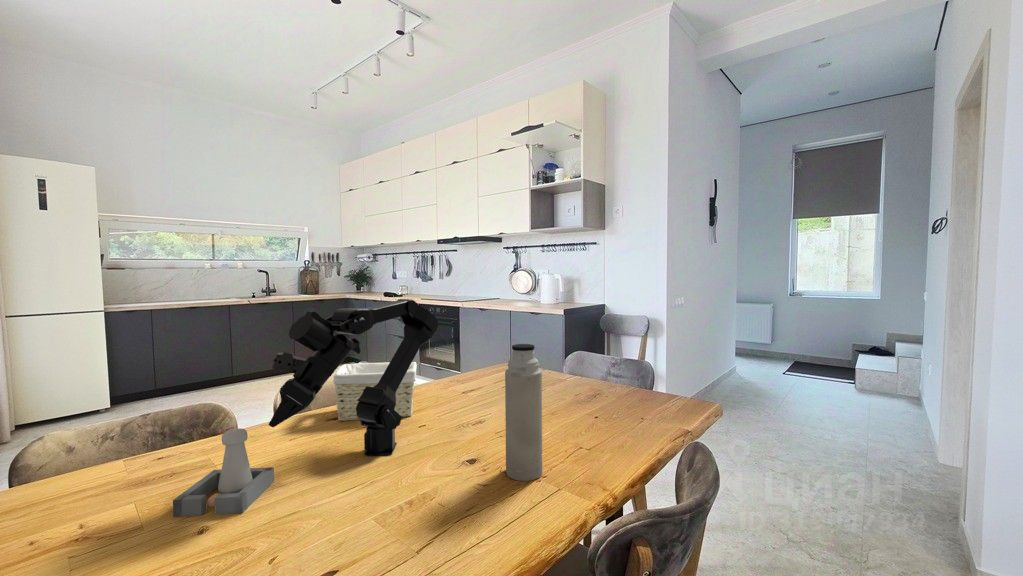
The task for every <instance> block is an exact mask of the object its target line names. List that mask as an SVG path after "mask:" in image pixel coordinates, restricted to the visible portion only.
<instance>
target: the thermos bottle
mask: <svg viewBox="0 0 1023 576" xmlns="http://www.w3.org/2000/svg"><path fill="white" fill-rule="evenodd" d="M535 347H536V346H535V345H534V344H529V343H516V344H513V345H511V349H512V352H511V358H510V359H508V361H507V363H508V364H507V369H506V370H505V371H504V383H505V385H504V386H505V387H504V388H505V392H504V393H505V395H504V397H505V398H504V399H505V403H504V405H505V415H504V416H505V473H506V475H507V477H509V478H510V479H513V480H515V481H519V482H521V481H524V482H525V481H534V480H537V479H538V478H540V477H542V475H543V371H542V370H541V369H540V368H539V366H540V363H539V360H538V359H537V358H536V357H535Z"/></svg>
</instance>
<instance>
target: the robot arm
mask: <svg viewBox="0 0 1023 576" xmlns="http://www.w3.org/2000/svg"><path fill="white" fill-rule="evenodd" d="M397 318H399V319H400V322H401V323H402V324H403V339H402V341H401V343H399V346H398V348H397V349H396V351H395V353H394V354H393V356H392V358H391V360H390V361H389V362H390V363H389V365H388V367H387V368H386V370H385V372H384V374H383V375H382V377H381V379H380V381H379V382H378V384H377V385H375V386H374V387H369V386H367V387H366V388H365V389H364V391H363V393H362V395H361V397H360V398H359V399H358V400H357V401H359V402H358V404H357V406H356V412H357V417H358V418H359V421H360V422H359V423H360V425H361V426H363V427H366V428H365V430H366V431H365V432H364V435H363V440H364V441H363V442H364V443H363V444H364V445H363V446H364V447H363V449H364V451H365V452H364V456H385V455H387V456H388V455H393V453H394V452H395V449H396V446H397V442H396V436H395V435H396V430H395V429H397V427H399V426H400V425H401V421H402V417H401V416H400V415H399V414H398V413H397V412H396V411H395V410H394V408H395V406H396V391H397V389H398V387H399V385H400V383H401V381H402V380H403V378H404V376H405V374H406V372H407V370H408V368H409V367H410V365H411V363H412V362H414V361H413V360H414V359H415V357H416V355H417V353H418V352H419V350H420V347H421V346H422V345H424V344H426V343H427V342H428V341H430V340H431V339H432V337H433V336H434V335H435V334H436V333H437V331H438V327H439V321H438V319H437V317H436V316H435V315H434V314H433V313H432V312H431V311H429V310H427V309H426V308H425V307H422V305H420V304H419V303H417V302H416V301H415V300H414V299H411V298H410V299H408V298H399V299H397V300H393V301H390V302H386V303H382V304H381V303H380V304H376V305H374V306H370V307H363V308H360V307H359V308H358V307H356V308H355V307H353V308H351V307H350V308H338V309H336V310H334V311H333V314H332V315H331V316H329V317H327V318H323V317H322V316H320V314H319V313H318V312H316V311H314V310H307V311H306V313H305V314H304V315H303V316H301V317H300V318H298V319H297V320H296V321H294V323H292V324H291V326H290V329H289V332H288V336H289V338H290V339H291V340H292V341H295V342H296V343H298V344H299V345H301V346H303V347H304V348H307V349H308V350H310V351H312V352H314V353H313V354H312V355H309V356H308V357H307V358H303V357H300V356H296V355H295V354H294V352H290V353H289V352H288V351H284V352H277V353H276V355H275V357H274V358H273V362H272V365H271V369H272V370H275V371H279V370H280V371H284V372H287V373H291V374H292V373H293V375H292V378H288V380H286V381H285V382H284V384H283V385H281V386H280V388H279V394H280V403H279V404H278V407H277V408H276V410H275V412H274V414H273V415H272V417H271V418H270V421H269V422H268V426H269V427H271V428H275V427H276V426H279V425H280V424H281V423H284V422H285V421H286V420H288V419H289V418H292V417H293V416H295V415H297V414H299V413H301V412H302V411H304V410H305V409H306V408H308V407H309V406H310V404H311V403H312V402H313V401H314V400H315V399H316V395H317V394H318V393H319V392H320V391H321V389H322V388H323V386H324V384H325V383H327V382H328V380H329V378H331V377H332V375H333V374H334V373H335V372H336V370H338V369H339V366H340V365H341V364H342V362H344V360H345V359H346V357H348V355H349V354H350V353H351V352H352V351H353V352H355V354H361V347H360V345H361V344H360V343H361V342H360V340H358V339H357V338H355V337H354V338H349V337H347V336H346V335H356V336H358V335H361V334H364V333H365V332H367V331H369V330H371V329H372V328H373V327H374V325H376V324H379V323H382V322H386V321H389V320H393V319H397ZM335 333H337V334H335ZM344 334H346V335H344Z"/></svg>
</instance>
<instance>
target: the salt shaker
mask: <svg viewBox="0 0 1023 576" xmlns="http://www.w3.org/2000/svg"><path fill="white" fill-rule="evenodd" d="M246 441H248V432H247V430H246V429H245V428H241V427H239V428H238V427H237V428H232V429H229V430H227V431H225V432H224V433H222V434H221V444H222V445H223V446H225V449H224V455H223V460H222V465H221V469H222V470H221V469H220V470H221V475H220V480H219V485H218V487H217V490H218V493H219V494H229V493H239V492H240V491H241V490H242V489H243V488H245V487H246V486H247V485H248V484H249V483H250V482H251V481H252V480H253V478H252V474H251V469H250V468H251V466H250V461H249V457H248V452H247V447H246V445H245V442H246Z"/></svg>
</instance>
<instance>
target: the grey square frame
mask: <svg viewBox="0 0 1023 576" xmlns="http://www.w3.org/2000/svg"><path fill="white" fill-rule="evenodd" d="M250 469H251V474H252V478H253V480H252V481H251V482H250V483H249V484H248V485H247V486H246V487H245V488H243V489H242V490H241V491H240V492H239V493H229V494H220V493H219V495H218V496H217V497H216V498H215V505H214V514H215V515H227V514H229V515H230V514H243V513H244V512H246V510H247V509H248V508H249V507H251V506H252V504H253V503H254V502H255V501H257V499H259V497H260V496H261V495H262V494H263V493H264V492H265V491H266V490H267V489H268V488H269V487H270V486H271V485H273V483H274V482H275V467H273V466H272V467H250ZM221 470H222V468H220V469H213V470H211V471H210V472H209V473H208V474H206V475H205V476H204V477H202V478H201V479H199V480H198V481H197V482H195V483H194V484H193V485H191V486H190V487H189V488H187V489H186V490H184V491H183V492H182V493H180V494H179V495H178V496H176V497H175V498H174V499H172V510H173V511H172V516H173V517H189V516H190V517H191V516H202V515H203V514H204V513H206V512H207V510H208V509H207V497H208V496H209V495H210V494H211V493H213V491H215V490H216V489H218V485H219V480H220V475H221Z"/></svg>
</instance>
